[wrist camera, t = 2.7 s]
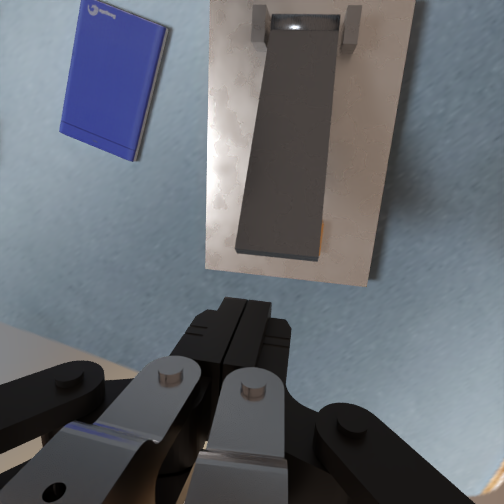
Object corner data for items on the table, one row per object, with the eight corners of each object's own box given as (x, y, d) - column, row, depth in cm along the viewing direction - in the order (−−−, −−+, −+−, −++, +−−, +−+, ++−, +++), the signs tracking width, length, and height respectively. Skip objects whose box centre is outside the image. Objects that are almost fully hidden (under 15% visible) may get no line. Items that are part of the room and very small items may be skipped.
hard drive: (80, -7, 31) (57, 131, 35) (164, 25, 31) (131, 162, 35) (90, -1, 32) (67, 132, 37) (171, 31, 32) (138, 161, 36)
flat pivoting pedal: (273, 29, 28) (272, 7, 26) (337, 30, 27) (341, 8, 25) (237, 255, 22) (233, 246, 21) (317, 263, 22) (319, 255, 20)
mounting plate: (216, 1, 30) (198, -25, 26) (409, 2, 28) (429, -26, 23) (210, 262, 38) (196, 279, 33) (363, 279, 35) (371, 300, 31)
